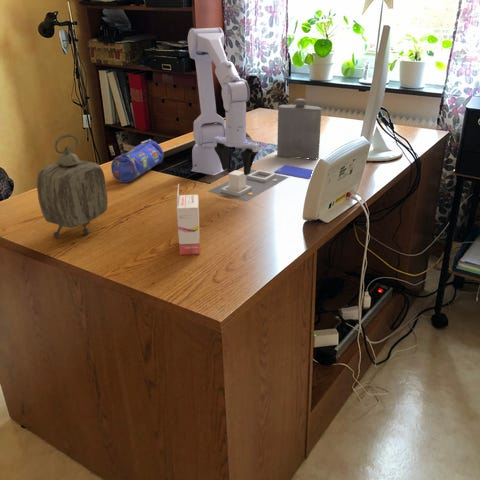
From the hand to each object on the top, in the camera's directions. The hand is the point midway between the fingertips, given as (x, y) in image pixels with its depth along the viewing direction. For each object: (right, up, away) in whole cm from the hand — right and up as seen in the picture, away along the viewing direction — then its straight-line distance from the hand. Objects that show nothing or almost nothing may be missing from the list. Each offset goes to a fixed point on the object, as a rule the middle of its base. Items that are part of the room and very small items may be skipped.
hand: (236, 171), depth 157 cm
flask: (+22, +10, +35) cm, 42 cm away
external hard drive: (-4, +16, +49) cm, 52 cm away
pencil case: (-32, +2, +20) cm, 37 cm away
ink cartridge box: (-11, -22, -29) cm, 38 cm away
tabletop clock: (-39, -18, -21) cm, 48 cm away
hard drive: (+20, +1, +18) cm, 27 cm away
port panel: (+4, -3, +8) cm, 9 cm away
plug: (0, -5, +3) cm, 6 cm away
